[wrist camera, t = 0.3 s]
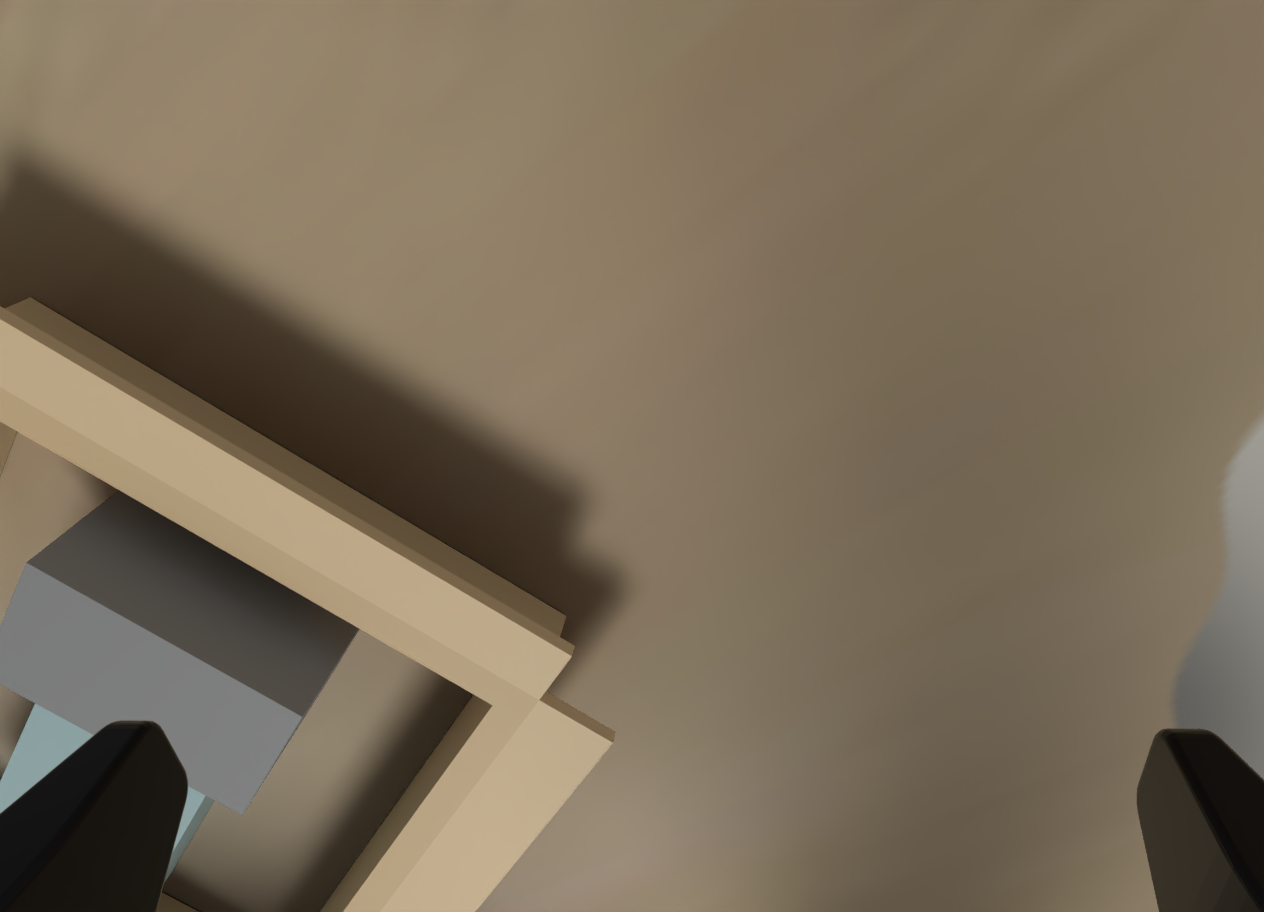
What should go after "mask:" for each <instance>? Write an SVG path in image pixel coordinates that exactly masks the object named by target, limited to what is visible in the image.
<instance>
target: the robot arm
mask: <svg viewBox="0 0 1264 912" xmlns="http://www.w3.org/2000/svg"><path fill="white" fill-rule="evenodd" d="M187 794H188V779H187V774H186V771H185V769H184V767H183V765H182V763H181V761H180V760H179V758H178V756H177V754H176V752H175V751H174V749H173V747H172V745H171V743H170V741H169V740H168V738H167V736H166V734H165V732H164V731H163V729H162V728H161V726H160V725H158V724H157V723H155V722H153V721H132V720H121V721H115V722H112V723H110V724H108V725H106V726H105V727H103V728H102V729H101V730H99V731H98V732H97V733H96V734H95V735H93V736H92V737H91V738H90V739H89V740H87V741H86V742H85V743H84V744H83V745H81V746H80V747H79V748H78V749H77V750H75V751H74V752H73V753H72V754H71V755H69V756H68V757H67V758H66V759H65V760H63V761H62V762H61V763H60V764H59V765H57V766H56V767H55V768H54V769H53V770H51V771H50V772H49V773H48V774H47V775H46V776H44V777H43V778H42V779H41V780H40V781H38V782H37V783H36V784H35V785H34V786H32V787H31V788H30V789H29V790H28V791H26V792H25V793H24V794H23V795H22V796H20V797H19V798H18V799H17V800H16V801H14V802H13V803H12V804H11V805H10V806H8V807H7V808H6V809H5V810H4V811H2V812H1V813H0V912H157V908H158V904H159V900H160V897H161V893H162V889H163V886H164V882H165V878H166V874H167V871H168V867H169V863H170V859H171V856H172V852H173V848H174V845H175V841H176V837H177V833H178V830H179V826H180V822H181V818H182V815H183V811H184V807H185V803H186V799H187ZM1137 809H1138V815H1139V820H1140V825H1141V829H1142V834H1143V839H1144V843H1145V848H1146V853H1147V857H1148V862H1149V867H1150V871H1151V876H1152V881H1153V885H1154V890H1155V895H1156V899H1157V904H1158V909H1159V912H1264V780H1263V778H1261V777H1260V776H1259V775H1258V774H1257V773H1256V772H1255V771H1254V770H1253V769H1252V768H1251V767H1250V766H1249V765H1248V764H1247V763H1246V762H1245V761H1244V760H1243V759H1242V758H1241V757H1240V756H1239V755H1238V754H1236V752H1235V751H1234V750H1233V749H1231V748H1230V747H1229V746H1228V745H1227V744H1226V743H1225V742H1224V741H1223V740H1222V739H1221V738H1220V737H1219V736H1217V735H1216V734H1214V733H1212V732H1211V731H1208V730H1204V729H1162V730H1161V731H1159V732H1158V733H1157V734H1156V735H1155V737H1154V739H1153V742H1152V745H1151V748H1150V751H1149V754H1148V757H1147V760H1146V763H1145V766H1144V769H1143V772H1142V775H1141V778H1140V781H1139V784H1138V788H1137Z"/></svg>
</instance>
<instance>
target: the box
mask: <svg viewBox="0 0 1264 912" xmlns="http://www.w3.org/2000/svg"><path fill="white" fill-rule="evenodd" d="M358 631H359V628H357V627H356V626H354V625H352V624H350V623H349V622H347V621H345V620H344V619H342V618H340V617H338V616H337V615H335V614H333V613H331V612H330V611H328V610H326V609H324V608H323V607H321V606H319V605H318V604H316V603H314V602H312V601H311V600H309V599H307V598H305V597H304V596H302V595H300V594H298V593H297V592H295V591H293V590H291V589H290V588H288V587H286V586H285V585H283V584H281V583H279V582H278V581H276V580H274V579H272V578H271V577H269V576H267V575H265V574H264V573H262V572H260V571H259V570H257V569H255V568H253V567H252V566H250V565H248V564H246V563H245V562H243V561H241V560H239V559H238V558H236V557H234V556H232V555H231V554H229V553H227V552H226V551H224V550H222V549H220V548H219V547H217V546H215V545H213V544H212V543H210V542H208V541H206V540H205V539H203V538H201V537H200V536H198V535H196V534H194V533H193V532H191V531H189V530H187V529H186V528H184V527H182V526H180V525H179V524H177V523H175V522H174V521H172V520H170V519H168V518H167V517H165V516H163V515H161V514H160V513H158V512H156V511H154V510H153V509H151V508H149V507H147V506H146V505H144V504H142V503H141V502H139V501H137V500H135V499H134V498H132V497H130V496H128V495H127V494H125V493H123V492H121V491H120V490H119V491H117V492H116V493H115V494H114V495H112V496H111V497H110V498H108V499H107V500H106V501H105V502H103V503H102V504H101V505H99V506H98V507H97V508H96V509H94V510H93V511H92V512H90V513H89V514H88V515H87V516H85V517H84V518H83V519H82V520H80V521H79V522H78V523H76V524H75V525H74V526H73V527H71V528H70V529H69V530H67V531H66V532H65V533H64V534H62V535H61V536H60V537H59V538H57V539H56V540H55V541H53V542H52V543H51V544H50V545H48V546H47V547H46V548H44V549H43V550H42V551H41V552H39V553H38V554H37V555H36V556H34V557H33V558H32V559H30V560H29V561H28V562H27V563H26V565H25V567H24V570H23V572H22V574H21V577H20V579H19V582H18V584H17V587H16V589H15V592H14V594H13V597H12V599H11V601H10V604H9V606H8V609H7V611H6V614H5V616H4V619H3V621H2V623H1V626H0V685H2V686H4V687H6V688H8V689H9V690H11V691H13V692H15V693H17V694H19V695H20V696H22V697H24V698H26V699H28V700H30V701H32V702H33V703H35V705H34V707H33V709H32V711H31V714H30V716H29V718H28V720H27V723H26V725H25V727H24V729H23V732H22V734H21V736H20V738H19V740H18V743H17V745H16V747H15V749H14V752H13V754H12V756H11V758H10V761H9V763H8V765H7V767H6V769H5V772H4V774H3V776H2V778H1V781H0V813H1V812H2V811H4V810H5V809H6V808H7V807H8V806H10V805H11V804H12V803H13V802H14V801H16V800H17V799H18V798H19V797H20V796H22V795H23V794H24V793H25V792H26V791H28V790H29V789H30V788H31V787H32V786H34V785H35V784H36V783H37V782H38V781H40V780H41V779H42V778H43V777H44V776H46V775H47V774H48V773H49V772H50V771H51V770H53V769H54V768H55V767H56V766H57V765H59V764H60V763H61V762H62V761H63V760H65V759H66V758H67V757H68V756H69V755H71V754H72V753H73V752H74V751H75V750H77V749H78V748H79V747H80V746H81V745H83V744H84V743H85V742H86V741H87V740H89V739H90V738H91V737H92V736H93V735H95V734H96V733H97V732H98V731H99V730H101V729H102V728H103V727H105V726H106V725H108V724H110V723H112V722H115V721H121V720H132V721H153V722H155V723H157V724H158V725H160V726H161V728H162V729H163V731H164V732H165V734H166V736H167V738H168V740H169V741H170V743H171V745H172V747H173V749H174V751H175V752H176V754H177V756H178V758H179V760H180V761H181V763H182V765H183V767H184V769H185V771H186V774H187V779H188V794H187V799H186V803H185V807H184V811H183V815H182V818H181V822H180V826H179V830H178V833H177V837H176V841H175V845H174V848H173V852H172V856H171V859H170V863H169V867H168V871H167V874H166V878H165V881H166V880H167V878H168V877H169V875H170V874H171V872H172V871H173V869H174V868H175V866H176V865H177V863H178V861H179V860H180V858H181V856H182V855H183V853H184V851H185V849H186V848H187V846H188V844H189V843H190V841H191V839H192V838H193V836H194V834H195V833H196V831H197V829H198V827H199V826H200V824H201V822H202V821H203V819H204V817H205V816H206V814H207V812H208V811H209V809H210V807H211V805H212V804H213V802H214V801H216V802H218V803H220V804H222V805H224V806H226V807H227V808H229V809H231V810H233V811H235V812H237V813H238V814H240V815H243V813H244V812H245V810H246V808H247V807H248V805H249V804H250V802H251V801H252V799H253V797H254V796H255V794H256V793H257V791H258V790H259V788H260V786H261V785H262V783H263V782H264V780H265V779H266V777H267V775H268V774H269V772H270V771H271V769H272V768H273V766H274V764H275V763H276V761H277V760H278V758H279V756H280V755H281V753H282V752H283V750H284V749H285V747H286V745H287V744H288V742H289V741H290V739H291V738H292V736H293V734H294V733H295V731H296V730H297V728H298V727H299V725H300V723H301V722H302V720H303V719H304V717H305V716H306V714H307V712H308V711H309V709H310V708H311V706H312V705H313V703H314V701H315V700H316V698H317V697H318V695H319V693H320V692H321V690H322V689H323V687H324V686H325V684H326V682H327V681H328V679H329V678H330V676H331V675H332V673H333V671H334V670H335V668H336V667H337V665H338V663H339V662H340V660H341V658H342V657H343V655H344V654H345V652H346V650H347V649H348V647H349V645H350V644H351V642H352V641H353V639H354V637H355V636H356V634H357V632H358ZM164 883H165V882H164Z"/></svg>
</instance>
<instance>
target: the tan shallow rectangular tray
mask: <svg viewBox="0 0 1264 912" xmlns="http://www.w3.org/2000/svg"><path fill="white" fill-rule="evenodd" d="M17 432H19V433H21V434H23V435H24V436H26V437H28V438H30V439H31V440H33V441H35V442H36V443H38V444H40V445H42V446H43V447H45V448H47V449H49V450H50V451H52V452H54V453H56V454H57V455H59V456H61V457H62V458H64V459H66V460H68V461H69V462H71V463H73V464H75V465H76V466H78V467H80V468H82V469H83V470H85V471H87V472H89V473H90V474H92V475H94V476H95V477H97V478H99V479H101V480H102V481H104V482H106V483H108V484H109V485H111V486H113V487H115V488H116V489H118V490H120V491H121V492H123V493H125V494H127V495H128V496H130V497H132V498H134V499H135V500H137V501H139V502H141V503H142V504H144V505H146V506H147V507H149V508H151V509H153V510H154V511H156V512H158V513H160V514H161V515H163V516H165V517H167V518H168V519H170V520H172V521H174V522H175V523H177V524H179V525H180V526H182V527H184V528H186V529H187V530H189V531H191V532H193V533H194V534H196V535H198V536H200V537H201V538H203V539H205V540H206V541H208V542H210V543H212V544H213V545H215V546H217V547H219V548H220V549H222V550H224V551H226V552H227V553H229V554H231V555H232V556H234V557H236V558H238V559H239V560H241V561H243V562H245V563H246V564H248V565H250V566H252V567H253V568H255V569H257V570H259V571H260V572H262V573H264V574H265V575H267V576H269V577H271V578H272V579H274V580H276V581H278V582H279V583H281V584H283V585H285V586H286V587H288V588H290V589H291V590H293V591H295V592H297V593H298V594H300V595H302V596H304V597H305V598H307V599H309V600H311V601H312V602H314V603H316V604H318V605H319V606H321V607H323V608H324V609H326V610H328V611H330V612H331V613H333V614H335V615H337V616H338V617H340V618H342V619H344V620H345V621H347V622H349V623H350V624H352V625H354V626H356V627H357V628H359V629H361V630H363V631H364V632H366V633H368V634H370V635H371V636H373V637H375V638H376V639H378V640H380V641H382V642H383V643H385V644H387V645H389V646H390V647H392V648H394V649H396V650H397V651H399V652H401V653H403V654H404V655H406V656H408V657H409V658H411V659H413V660H415V661H416V662H418V663H420V664H422V665H423V666H425V667H427V668H429V669H430V670H432V671H434V672H435V673H437V674H439V675H441V676H442V677H444V678H446V679H448V680H449V681H451V682H453V683H455V684H456V685H458V686H460V687H461V688H463V689H465V690H467V691H468V692H470V693H472V694H474V695H473V696H472V697H471V699H470V700H469V702H468V703H467V705H466V706H465V707H464V709H463V710H462V712H461V713H460V714H459V716H458V717H457V719H456V720H455V721H454V723H453V724H452V726H451V727H450V729H449V730H448V731H447V733H446V734H445V736H444V737H443V738H442V740H441V741H440V743H439V744H438V745H437V747H436V748H435V750H434V751H433V752H432V754H431V755H430V757H429V758H428V760H427V761H426V762H425V764H424V765H423V767H422V768H421V769H420V771H419V772H418V774H417V775H416V776H415V778H414V779H413V781H412V782H411V784H410V785H409V786H408V788H407V789H406V791H405V792H404V793H403V795H402V796H401V798H400V799H399V800H398V802H397V803H396V805H395V806H394V807H393V809H392V810H391V812H390V813H389V815H388V816H387V817H386V819H385V820H384V822H383V823H382V824H381V826H380V827H379V829H378V830H377V831H376V833H375V834H374V836H373V837H372V839H371V840H370V841H369V843H368V844H367V846H366V847H365V848H364V850H363V851H362V853H361V854H360V855H359V857H358V858H357V860H356V861H355V862H354V864H353V865H352V867H351V868H350V870H349V871H348V872H347V874H346V875H345V877H344V878H343V879H342V881H341V882H340V884H339V885H338V886H337V888H336V889H335V891H334V892H333V894H332V895H331V896H330V898H329V899H328V901H327V902H326V903H325V905H324V906H323V908H322V909H321V910H320V912H475V911H476V910H477V909H478V908H479V907H480V905H481V904H482V903H483V902H484V900H485V899H486V898H487V897H488V896H489V894H490V893H491V892H492V891H493V889H494V888H495V887H496V886H497V885H498V883H499V882H500V881H501V880H502V878H503V877H504V876H505V875H506V874H507V872H508V871H509V870H510V869H511V867H512V866H513V865H514V864H515V862H516V861H517V860H518V859H519V858H520V856H521V855H522V854H523V853H524V851H525V850H526V849H527V848H528V847H529V845H530V844H531V843H532V842H533V840H534V839H535V838H536V837H537V836H538V834H539V833H540V832H541V831H542V829H543V828H544V827H545V826H546V825H547V823H548V822H549V821H550V820H551V818H552V817H553V816H554V815H555V814H556V812H557V811H558V810H559V809H560V807H561V806H562V805H563V804H564V802H565V801H566V800H567V799H568V798H569V796H570V795H571V794H572V793H573V791H574V790H575V789H576V788H577V787H578V785H579V784H580V783H581V782H582V780H583V779H584V778H585V777H586V776H587V774H588V773H589V772H590V771H591V769H592V768H593V767H594V766H595V765H596V763H597V762H598V761H599V760H600V758H601V757H602V756H603V755H604V754H605V752H606V751H607V750H608V749H609V747H610V746H611V745H612V744H613V741H614V736H615V731H613V730H611V729H610V728H608V727H606V726H605V725H603V724H601V723H599V722H598V721H596V720H594V719H593V718H591V717H589V716H587V715H586V714H584V713H582V712H581V711H579V710H577V709H575V708H574V707H572V706H570V705H569V704H567V703H565V702H563V701H562V700H560V699H558V698H557V697H555V696H553V695H551V694H550V693H548V692H546V690H547V689H548V688H549V686H550V685H551V684H552V682H553V681H554V680H555V678H556V677H557V676H558V674H559V673H560V672H561V670H562V669H563V668H564V666H565V665H566V664H567V662H568V661H569V660H570V658H571V657H572V655H573V652H574V648H575V646H574V645H572V644H571V643H569V642H567V641H566V640H564V639H562V638H561V637H560V635H561V632H562V629H563V626H564V623H565V620H566V617H567V616H565V615H564V614H562V613H560V612H559V611H557V610H555V609H554V608H552V607H550V606H549V605H547V604H545V603H544V602H542V601H540V600H539V599H537V598H535V597H534V596H532V595H530V594H528V593H527V592H525V591H523V590H522V589H520V588H518V587H517V586H515V585H513V584H512V583H510V582H508V581H507V580H505V579H503V578H502V577H500V576H498V575H497V574H495V573H493V572H492V571H490V570H488V569H486V568H485V567H483V566H481V565H480V564H478V563H476V562H475V561H473V560H471V559H470V558H468V557H466V556H465V555H463V554H461V553H460V552H458V551H456V550H455V549H453V548H451V547H449V546H448V545H446V544H444V543H443V542H441V541H439V540H438V539H436V538H434V537H433V536H431V535H429V534H428V533H426V532H424V531H423V530H421V529H419V528H418V527H416V526H414V525H412V524H411V523H409V522H407V521H406V520H404V519H402V518H401V517H399V516H397V515H396V514H394V513H392V512H391V511H389V510H387V509H386V508H384V507H382V506H381V505H379V504H377V503H375V502H374V501H372V500H370V499H369V498H367V497H365V496H364V495H362V494H360V493H359V492H357V491H355V490H354V489H352V488H350V487H349V486H347V485H345V484H344V483H342V482H340V481H338V480H337V479H335V478H333V477H332V476H330V475H328V474H327V473H325V472H323V471H322V470H320V469H318V468H317V467H315V466H313V465H312V464H310V463H308V462H307V461H305V460H303V459H302V458H300V457H298V456H296V455H295V454H293V453H291V452H290V451H288V450H286V449H285V448H283V447H281V446H280V445H278V444H276V443H275V442H273V441H271V440H270V439H268V438H266V437H265V436H263V435H261V434H259V433H258V432H256V431H254V430H253V429H251V428H249V427H248V426H246V425H244V424H243V423H241V422H239V421H238V420H236V419H234V418H233V417H231V416H229V415H228V414H226V413H224V412H222V411H221V410H219V409H217V408H216V407H214V406H212V405H211V404H209V403H207V402H206V401H204V400H202V399H201V398H199V397H197V396H196V395H194V394H192V393H191V392H189V391H187V390H185V389H184V388H182V387H180V386H179V385H177V384H175V383H174V382H172V381H170V380H169V379H167V378H165V377H164V376H162V375H160V374H159V373H157V372H155V371H154V370H152V369H150V368H149V367H147V366H145V365H143V364H142V363H140V362H138V361H137V360H135V359H133V358H132V357H130V356H128V355H127V354H125V353H123V352H122V351H120V350H118V349H117V348H115V347H113V346H112V345H110V344H108V343H106V342H105V341H103V340H101V339H100V338H98V337H96V336H95V335H93V334H91V333H90V332H88V331H86V330H85V329H83V328H81V327H80V326H78V325H76V324H75V323H73V322H71V321H69V320H68V319H66V318H64V317H63V316H61V315H59V314H58V313H56V312H54V311H53V310H51V309H49V308H48V307H46V306H44V305H43V304H41V303H39V302H38V301H36V300H34V299H32V298H31V297H30V298H28V299H25V300H23V301H21V302H18V303H16V304H14V305H11V306H9V307H7V308H3V307H1V306H0V475H1V473H2V470H3V467H4V465H5V462H6V459H7V457H8V454H9V451H10V449H11V446H12V443H13V441H14V438H15V435H16V433H17ZM157 912H198V911H196V910H194V909H192V908H191V907H189V906H187V905H185V904H183V903H181V902H179V901H177V900H175V899H173V898H172V897H170V896H168V895H166V894H164V893H161V897H160V900H159V904H158V908H157Z"/></svg>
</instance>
